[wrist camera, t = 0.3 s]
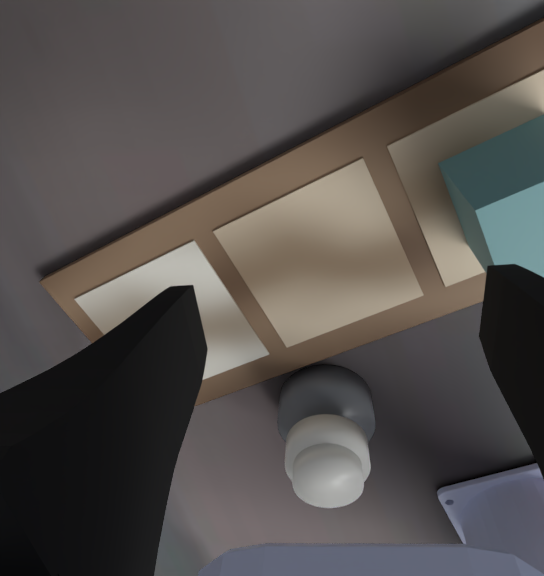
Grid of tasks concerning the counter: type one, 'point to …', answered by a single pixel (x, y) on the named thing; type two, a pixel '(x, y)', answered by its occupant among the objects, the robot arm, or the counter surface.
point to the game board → (322, 230)
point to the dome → (327, 460)
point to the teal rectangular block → (502, 196)
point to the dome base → (325, 398)
